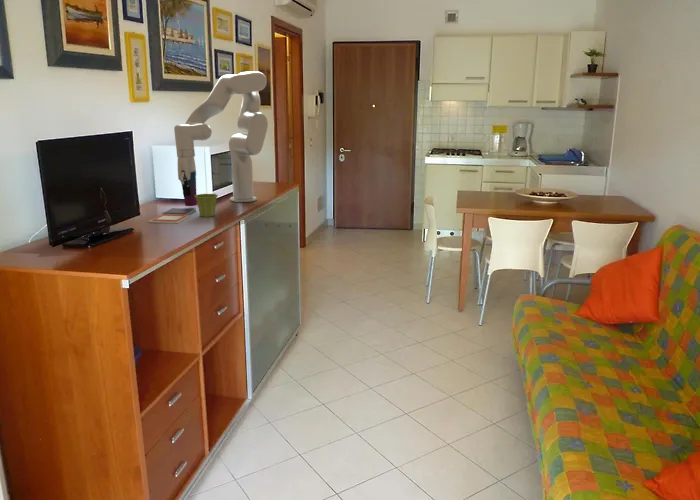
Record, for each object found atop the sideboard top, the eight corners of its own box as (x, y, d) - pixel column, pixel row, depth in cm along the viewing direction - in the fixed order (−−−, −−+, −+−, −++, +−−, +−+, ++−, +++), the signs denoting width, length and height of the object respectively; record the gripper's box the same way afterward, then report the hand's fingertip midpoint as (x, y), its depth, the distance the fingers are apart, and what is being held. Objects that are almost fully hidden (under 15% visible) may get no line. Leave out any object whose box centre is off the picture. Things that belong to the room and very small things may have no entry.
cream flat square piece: (161, 216, 237) (161, 213, 236) (189, 217, 235) (189, 214, 235) (149, 222, 225) (148, 219, 225) (178, 223, 224) (177, 220, 224)
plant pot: (196, 213, 242) (194, 193, 239) (218, 212, 244) (217, 193, 242) (195, 218, 233) (194, 197, 231) (219, 217, 235) (218, 196, 233)
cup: (201, 203, 256) (197, 170, 251) (195, 206, 249) (192, 172, 245) (186, 203, 256) (183, 170, 252) (180, 206, 250) (177, 172, 246)
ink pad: (172, 210, 248) (171, 207, 247) (196, 211, 247) (196, 208, 246) (161, 215, 237) (161, 212, 237) (186, 216, 236) (186, 213, 236)
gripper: (185, 150, 255) (189, 190, 260) (169, 156, 238) (174, 198, 244) (201, 150, 254) (204, 190, 259) (186, 156, 237) (190, 198, 243)
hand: (189, 193), depth 251 cm, fingers closed on cup, 6 cm apart
